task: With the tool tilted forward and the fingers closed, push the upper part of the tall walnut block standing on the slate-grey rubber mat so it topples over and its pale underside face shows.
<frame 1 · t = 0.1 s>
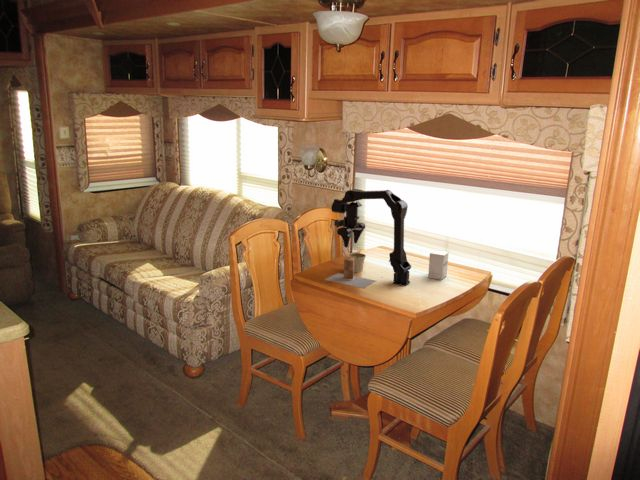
hand: (350, 245, 260), 15 cm above the table, tool pointing down, fingers open, 9 cm apart
flower pot: (356, 271, 266), on the table
rubber mat: (350, 281, 251), on the table
walnut block: (348, 278, 254), resting on rubber mat
supplement box: (437, 277, 259), on the table
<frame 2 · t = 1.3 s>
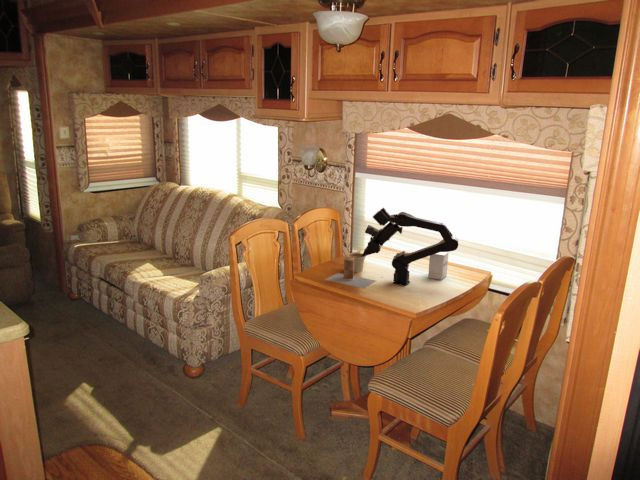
hand: (363, 253, 249), 13 cm above the table, tool tilted 45°, fingers open, 7 cm apart
nothing on the table moved.
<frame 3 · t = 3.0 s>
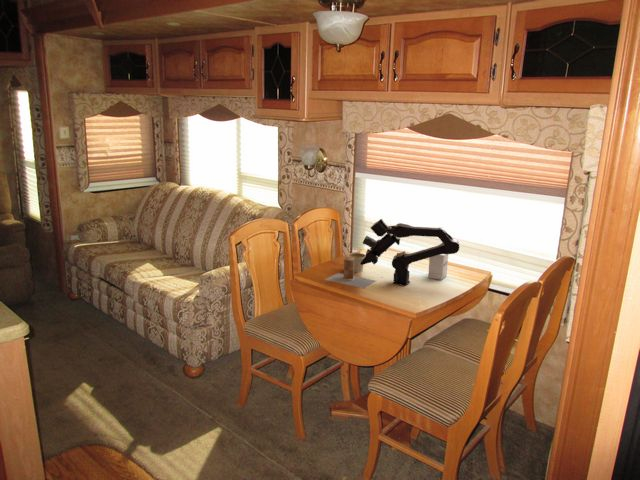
hand: (360, 264, 251), 8 cm above the table, tool tilted 45°, fingers closed
nothing on the table moved.
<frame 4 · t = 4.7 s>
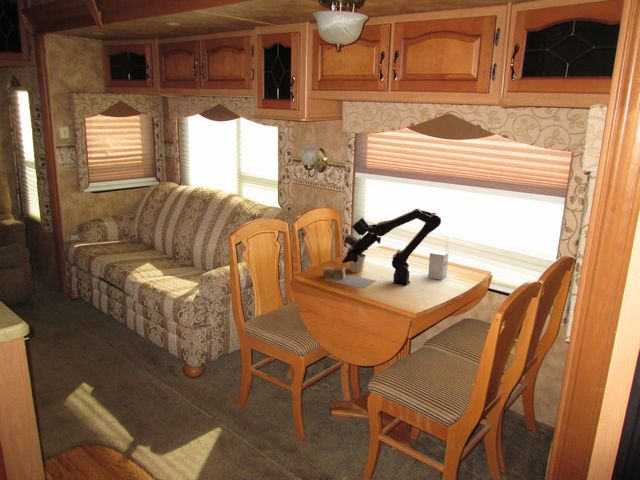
hand: (342, 262, 253), 8 cm above the table, tool tilted 45°, fingers closed
walnut block: (344, 273, 254), point 3 cm above the table, tilted 90°, touching rubber mat
everything else where it was.
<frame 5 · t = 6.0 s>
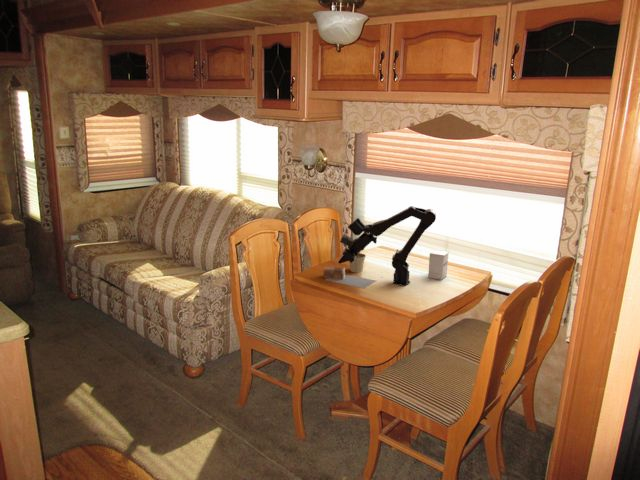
hand: (338, 262, 253), 8 cm above the table, tool tilted 45°, fingers closed
nothing on the table moved.
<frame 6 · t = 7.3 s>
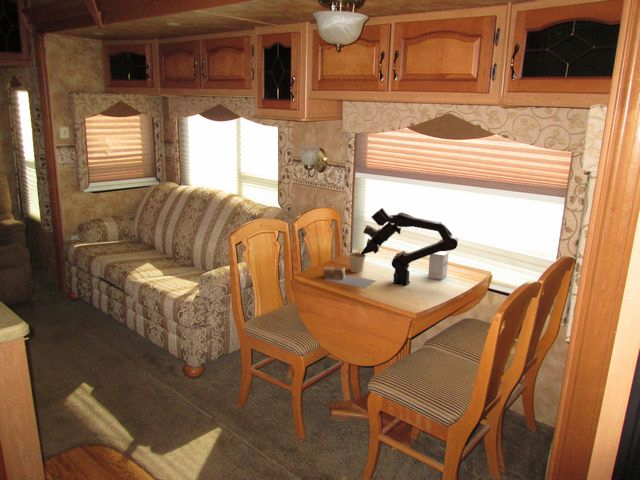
hand: (361, 253, 250), 13 cm above the table, tool tilted 45°, fingers closed
nothing on the table moved.
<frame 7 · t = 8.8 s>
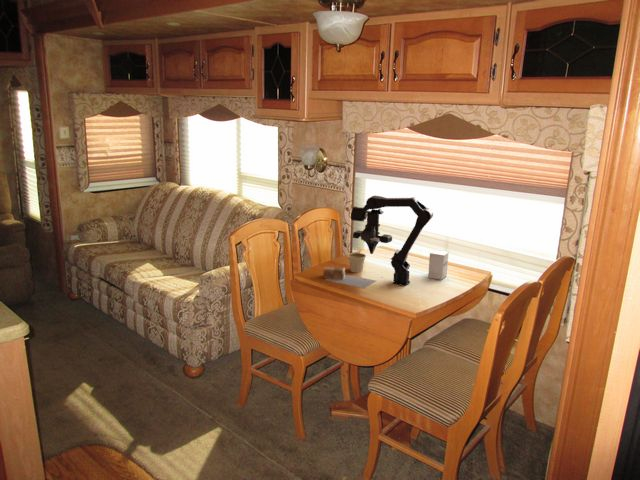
hand: (371, 253, 251), 13 cm above the table, tool pointing down, fingers closed
nothing on the table moved.
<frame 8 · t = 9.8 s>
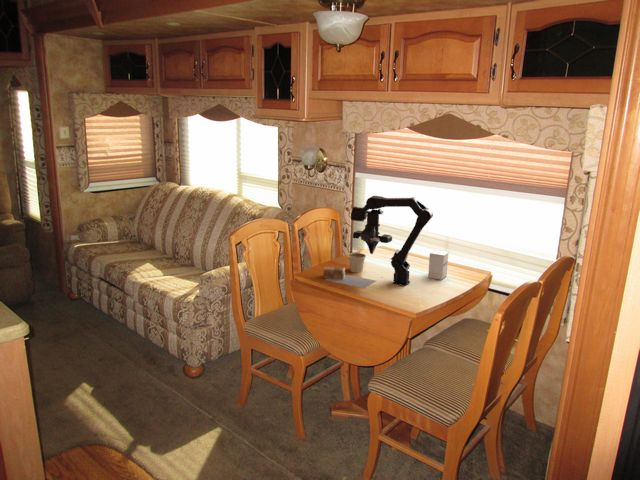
hand: (371, 253, 251), 13 cm above the table, tool pointing down, fingers closed
nothing on the table moved.
at the end: walnut block tilted 90°; walnut block inside the target area (3.1 cm from its centre), point 2.6 cm above the table; the gripper is holding nothing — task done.
